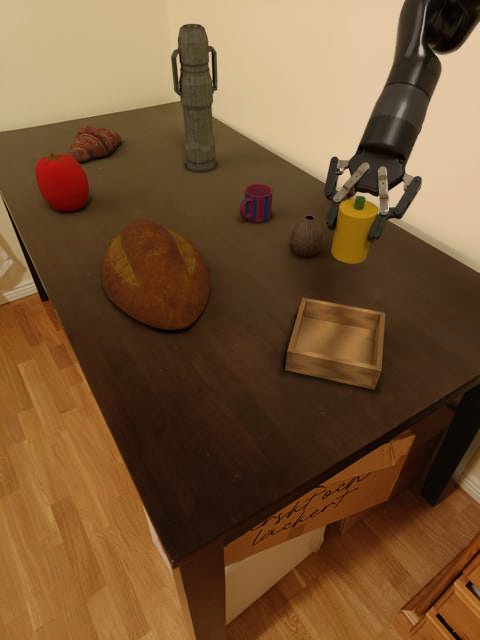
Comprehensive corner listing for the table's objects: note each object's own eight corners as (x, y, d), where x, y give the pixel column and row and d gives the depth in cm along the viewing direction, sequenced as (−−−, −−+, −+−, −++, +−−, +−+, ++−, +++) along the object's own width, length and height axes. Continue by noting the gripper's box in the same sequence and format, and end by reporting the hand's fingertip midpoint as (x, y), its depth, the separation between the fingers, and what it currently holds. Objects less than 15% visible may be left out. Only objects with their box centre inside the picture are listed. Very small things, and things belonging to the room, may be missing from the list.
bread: (119, 354, 74) (103, 300, 65) (94, 252, 96) (80, 201, 87) (233, 323, 79) (232, 269, 71) (185, 233, 101) (179, 184, 93)
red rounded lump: (35, 214, 108) (14, 158, 98) (61, 193, 116) (44, 140, 106) (78, 221, 105) (62, 165, 95) (102, 200, 113) (89, 146, 103)
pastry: (74, 143, 141) (67, 118, 135) (122, 140, 143) (117, 114, 137) (69, 165, 129) (61, 138, 123) (121, 161, 131) (115, 134, 125)
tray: (379, 331, 78) (385, 312, 74) (374, 390, 68) (381, 370, 65) (299, 316, 81) (302, 297, 77) (285, 370, 71) (287, 350, 68)
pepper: (368, 246, 69) (381, 191, 63) (365, 266, 66) (379, 210, 59) (333, 240, 71) (343, 186, 64) (329, 260, 67) (338, 204, 60)
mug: (276, 215, 107) (278, 190, 103) (248, 230, 102) (249, 204, 98) (257, 205, 111) (258, 181, 106) (229, 220, 106) (228, 194, 101)
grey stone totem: (176, 164, 129) (162, 25, 105) (211, 155, 133) (204, 20, 109) (189, 175, 124) (177, 31, 99) (225, 166, 128) (221, 26, 104)
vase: (326, 251, 96) (332, 216, 90) (308, 264, 92) (313, 229, 86) (301, 239, 99) (305, 205, 93) (283, 252, 96) (286, 217, 90)
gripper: (343, 104, 62) (300, 214, 63) (446, 123, 57) (397, 242, 58) (350, 130, 69) (311, 228, 70) (441, 149, 64) (398, 255, 65)
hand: (350, 234), depth 64 cm, fingers closed on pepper, 5 cm apart
